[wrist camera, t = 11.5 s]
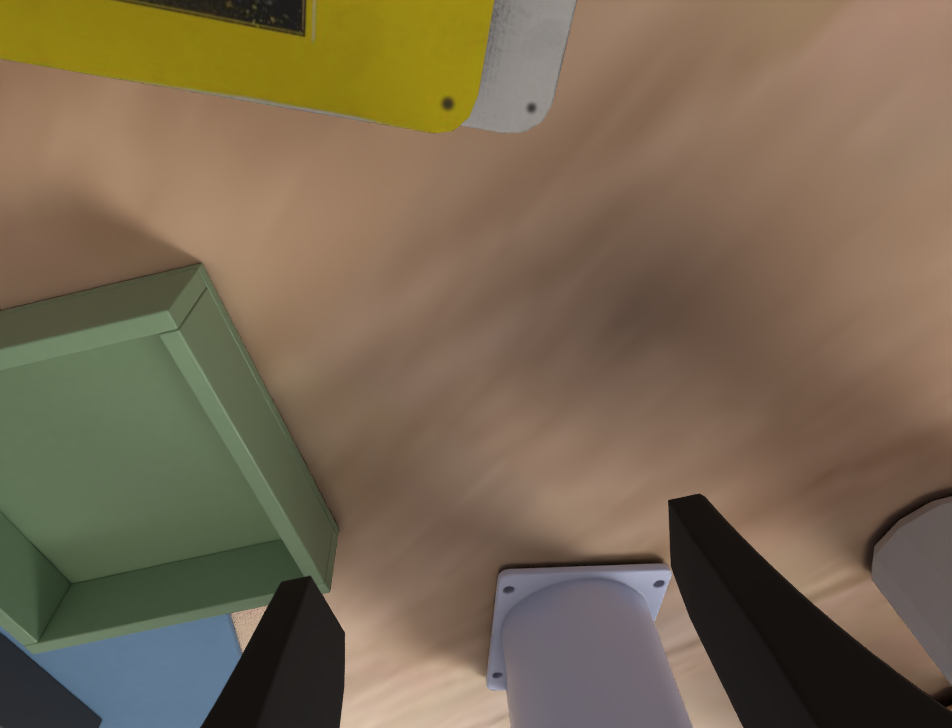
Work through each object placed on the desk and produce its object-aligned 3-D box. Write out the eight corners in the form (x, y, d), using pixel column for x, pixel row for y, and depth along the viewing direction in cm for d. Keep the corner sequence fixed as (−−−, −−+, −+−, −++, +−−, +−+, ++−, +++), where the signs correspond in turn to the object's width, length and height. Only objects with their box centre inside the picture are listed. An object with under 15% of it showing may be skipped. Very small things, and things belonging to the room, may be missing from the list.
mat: (269, 749, 34) (268, 756, 33) (-156, 776, 31) (-162, 785, 31) (225, 596, 26) (223, 604, 26) (-340, 619, 24) (-350, 628, 24)
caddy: (339, 529, 24) (331, 592, 22) (71, 586, 25) (33, 655, 22) (202, 262, 18) (166, 309, 15) (-163, 348, 18) (-255, 408, 16)
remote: (103, 719, 30) (75, 786, 27) (40, 732, 30) (6, 800, 27) (0, 630, 25) (-46, 702, 23) (-74, 646, 26) (-127, 719, 23)
